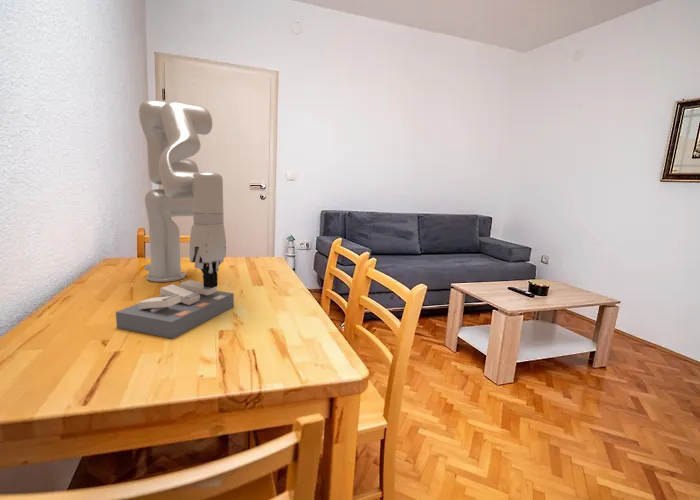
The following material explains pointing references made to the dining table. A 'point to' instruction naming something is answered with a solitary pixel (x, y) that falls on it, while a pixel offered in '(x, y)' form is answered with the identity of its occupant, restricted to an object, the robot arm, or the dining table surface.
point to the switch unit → (174, 315)
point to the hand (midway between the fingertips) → (210, 286)
